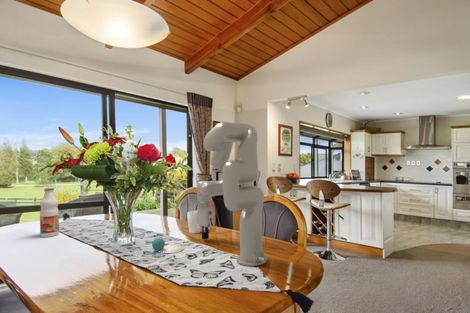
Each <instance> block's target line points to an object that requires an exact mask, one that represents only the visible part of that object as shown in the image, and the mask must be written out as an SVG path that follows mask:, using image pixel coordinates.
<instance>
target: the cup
mask: <svg viewBox="0 0 470 313" xmlns="http://www.w3.org/2000/svg"><path fill="white" fill-rule="evenodd" d="M186 214H187V215H186V216H187V217H186V218H187V223H188V230H189V231H188V232H189V234H200V233H202V231H201V227H200V226H199V224H198V223H197V210H188V211H187V213H186Z"/></svg>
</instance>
